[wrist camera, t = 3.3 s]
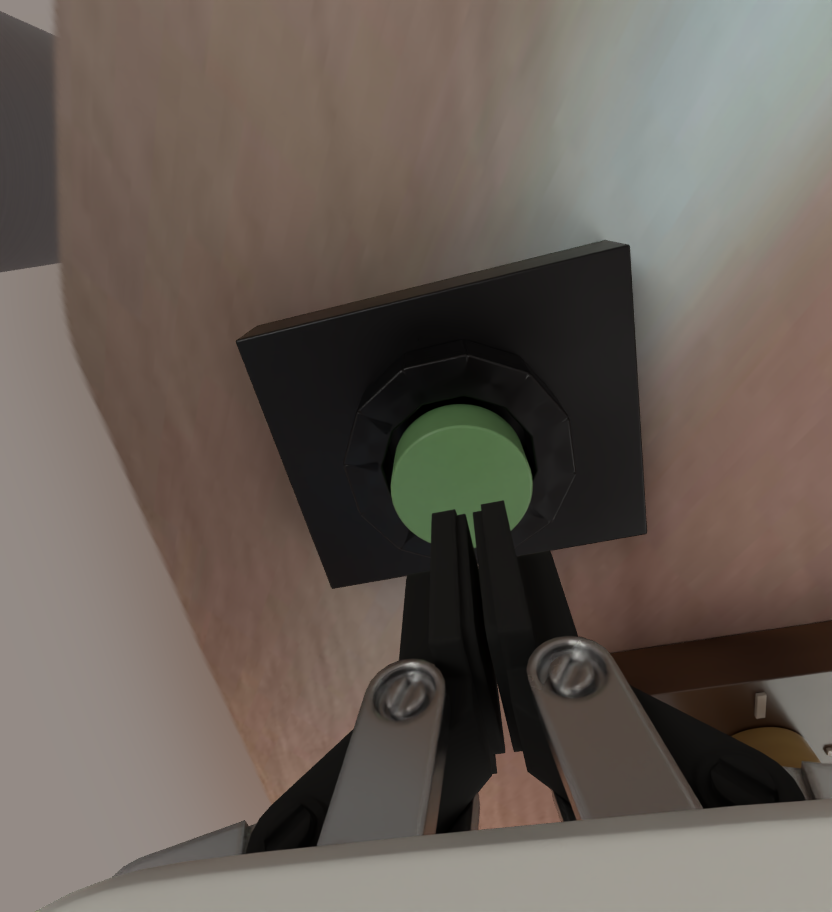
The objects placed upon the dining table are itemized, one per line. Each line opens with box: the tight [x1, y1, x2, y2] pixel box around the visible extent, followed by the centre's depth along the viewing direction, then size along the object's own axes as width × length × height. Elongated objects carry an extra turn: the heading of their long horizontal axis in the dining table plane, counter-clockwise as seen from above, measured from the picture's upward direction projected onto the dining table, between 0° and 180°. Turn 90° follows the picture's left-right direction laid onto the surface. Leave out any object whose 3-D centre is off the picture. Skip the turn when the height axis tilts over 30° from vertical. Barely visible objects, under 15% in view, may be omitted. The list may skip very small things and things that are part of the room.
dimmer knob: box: [731, 727, 821, 768], centre depth 21 cm, size 4×4×5 cm
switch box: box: [236, 240, 647, 589], centre depth 18 cm, size 12×10×4 cm
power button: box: [391, 404, 533, 548], centre depth 15 cm, size 4×4×2 cm
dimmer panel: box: [610, 621, 832, 764], centre depth 25 cm, size 13×10×3 cm
